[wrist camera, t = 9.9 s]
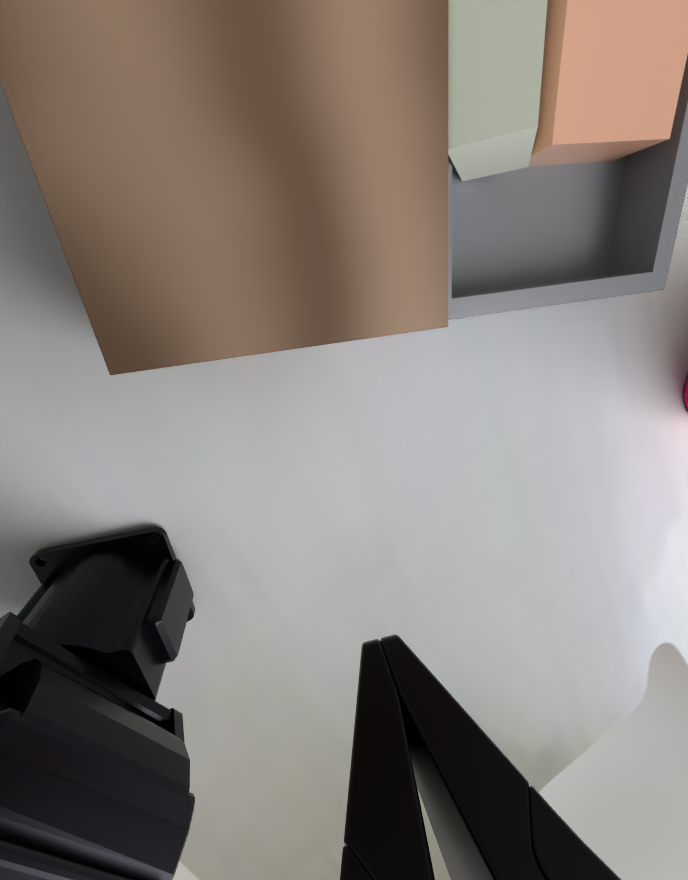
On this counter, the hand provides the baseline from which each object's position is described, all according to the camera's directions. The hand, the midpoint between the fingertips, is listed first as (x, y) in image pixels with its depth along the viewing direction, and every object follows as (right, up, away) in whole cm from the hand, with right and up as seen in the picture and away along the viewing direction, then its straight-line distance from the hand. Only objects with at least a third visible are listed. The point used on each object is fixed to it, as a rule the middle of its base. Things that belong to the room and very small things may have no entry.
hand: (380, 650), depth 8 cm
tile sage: (+3, +17, +4) cm, 18 cm away
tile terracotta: (+9, +18, +4) cm, 21 cm away
